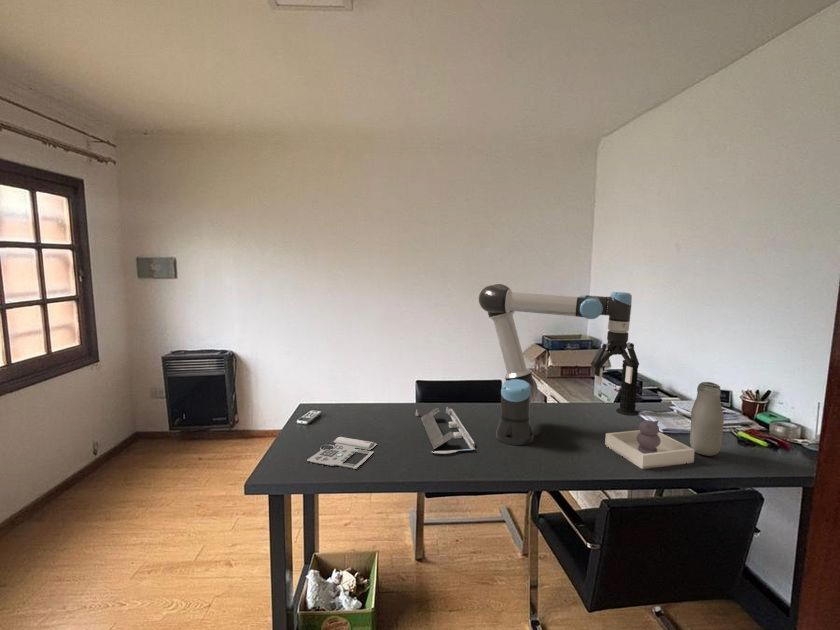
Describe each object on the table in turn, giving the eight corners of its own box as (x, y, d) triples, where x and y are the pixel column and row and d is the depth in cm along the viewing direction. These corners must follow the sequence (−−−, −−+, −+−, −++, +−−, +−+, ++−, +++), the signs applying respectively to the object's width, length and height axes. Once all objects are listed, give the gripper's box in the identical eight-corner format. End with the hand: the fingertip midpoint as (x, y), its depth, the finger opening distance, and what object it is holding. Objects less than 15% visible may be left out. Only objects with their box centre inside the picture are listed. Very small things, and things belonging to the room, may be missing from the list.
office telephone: (339, 433, 173) (383, 440, 166) (339, 439, 173) (383, 446, 166) (305, 456, 151) (354, 465, 144) (306, 463, 152) (354, 473, 145)
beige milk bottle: (711, 449, 163) (718, 379, 160) (725, 461, 153) (732, 387, 150) (683, 447, 165) (689, 378, 162) (695, 458, 155) (701, 385, 152)
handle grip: (614, 407, 211) (617, 414, 201) (617, 356, 208) (621, 360, 198) (636, 409, 208) (640, 416, 199) (639, 357, 205) (644, 362, 195)
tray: (642, 469, 147) (643, 455, 147) (605, 445, 167) (605, 433, 166) (693, 462, 152) (694, 449, 152) (651, 440, 172) (652, 428, 171)
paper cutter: (452, 413, 203) (452, 402, 202) (478, 454, 159) (478, 441, 158) (415, 415, 200) (415, 404, 199) (431, 458, 156) (432, 444, 156)
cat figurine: (644, 444, 165) (646, 415, 163) (664, 452, 158) (666, 422, 157) (631, 449, 161) (633, 419, 159) (651, 457, 154) (653, 426, 152)
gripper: (595, 333, 159) (591, 387, 162) (652, 332, 164) (646, 384, 167) (584, 329, 166) (580, 381, 169) (638, 329, 171) (633, 379, 174)
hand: (613, 383), depth 168 cm, fingers open, 13 cm apart
